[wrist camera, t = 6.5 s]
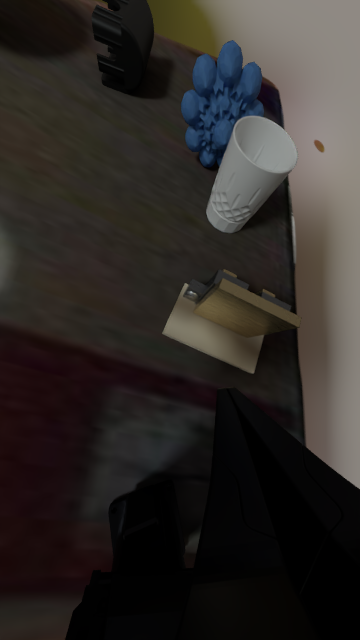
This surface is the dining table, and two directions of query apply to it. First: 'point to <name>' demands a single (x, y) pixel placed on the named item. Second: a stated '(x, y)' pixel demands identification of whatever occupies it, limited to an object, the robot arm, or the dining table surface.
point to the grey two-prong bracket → (199, 290)
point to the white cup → (249, 171)
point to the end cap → (123, 42)
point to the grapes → (219, 101)
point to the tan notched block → (244, 310)
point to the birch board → (211, 336)
